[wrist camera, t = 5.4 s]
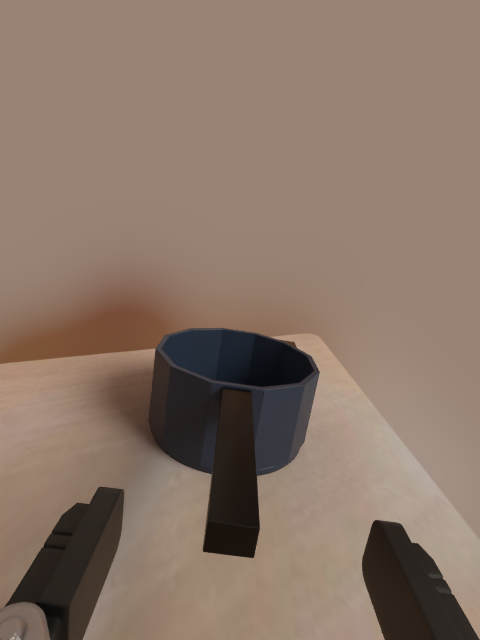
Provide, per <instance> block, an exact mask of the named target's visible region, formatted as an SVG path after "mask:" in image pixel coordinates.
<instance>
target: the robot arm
mask: <svg viewBox="0 0 480 640" xmlns="http://www.w3.org/2000/svg"><path fill="white" fill-rule="evenodd" d="M123 504H124V490H123V489H116V488H108V487H99V488H98V489H97V491H96V493H95V495H94V496H93V498H92V500H91V502H90V504H83V503H76V504H75V505H74V506H73V507H72V508H70V509H69V510H68V511H67V512H65V513H64V514H63V515H62V516H61V518H60V520H59V521H58V523H57V524H56V526H55V528H54V529H53V531H52V534H50V536H49V537H48V539H47V540H46V542H45V544H44V547H43V548H41V550H40V552H39V553H38V555H37V557H36V558H35V560H34V561H33V563H32V565H31V566H30V568H29V569H28V571H27V573H26V574H25V576H24V577H23V579H22V581H21V582H20V584H19V586H18V587H17V589H16V590H15V592H14V594H13V595H12V597H11V598H10V600H9V601H8V603H7V604H6V605H5V607H4V608H2V609H0V640H82V639H83V637H84V634H85V632H86V629H87V627H88V624H89V621H90V619H91V616H92V614H93V611H94V608H95V606H96V603H97V601H98V598H99V595H100V593H101V590H102V588H103V585H104V582H105V580H106V577H107V575H108V572H109V569H110V567H111V564H112V562H113V559H114V556H115V554H116V551H117V548H118V544H119V540H120V536H121V530H122V517H123ZM362 571H363V577H364V581H365V584H366V587H367V590H368V593H369V596H370V599H371V601H372V604H373V607H374V610H375V613H376V616H377V619H378V622H379V624H380V627H381V630H382V633H383V636H384V639H385V640H479V638H478V636H477V635H476V633H475V631H474V630H473V628H472V626H471V624H470V623H469V621H468V619H467V617H466V616H465V614H464V612H463V610H462V609H461V607H460V605H459V604H458V602H457V600H456V598H455V597H454V595H452V594H451V590H450V588H449V586H448V584H447V583H446V581H445V580H443V576H442V574H441V572H440V571H439V569H438V567H437V565H436V564H435V562H434V560H433V559H432V558H431V557H430V556H429V555H428V554H427V553H426V551H425V550H424V549H423V548H422V547H421V546H420V545H419V544H417V543H411V541H410V539H409V537H408V535H407V533H406V531H405V530H404V528H403V526H402V525H401V524H400V523H396V522H388V521H380V520H375V521H374V522H373V524H372V527H371V530H370V534H369V537H368V541H367V544H366V548H365V551H364V555H363V560H362Z"/></svg>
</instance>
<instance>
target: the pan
mask: <svg viewBox="0 0 480 640" xmlns="http://www.w3.org/2000/svg"><path fill="white" fill-rule="evenodd" d="M319 373H320V372H319V370H318V368H317V366H316V364H315V362H314V360H313V358H312V357H311V356H310V355H308V354H306V353H305V352H303V351H301V350H299V349H298V348H296V347H294V346H292V345H291V344H289V343H287V342H283V341H280V340H277V339H274V338H271V337H267V336H264V335H261V334H258V333H252V332H245V331H238V330H232V329H225V328H196V329H195V328H192V329H191V328H190V329H186V330H182V331H179V332H175V333H171V334H168V335H165V336H164V337H163V339H162V340H161V342H160V343H159V344H158V346H157V347H156V351H155V361H154V371H153V382H152V392H151V402H150V413H149V423H150V424H151V430H152V434H153V436H154V439H155V440H156V442H157V443H158V445H159V446H160V447H161V448H162V449H163V450H164V451H165V452H166V453H167V454H169V455H170V456H171V457H173V458H174V459H176V460H177V461H179V462H181V463H183V464H185V465H187V466H189V467H192V468H195V469H197V470H200V471H204V472H207V473H211V474H212V478H211V486H210V494H209V503H208V511H207V519H206V528H205V536H204V544H203V552H208V553H216V554H224V555H232V556H240V557H248V558H254V555H255V550H256V545H257V540H258V535H259V530H260V523H259V506H258V489H257V476H258V475H263V474H268V473H271V472H274V471H277V470H279V469H281V468H283V467H285V466H286V465H288V464H289V463H290V462H291V461H292V460H293V459H294V458H295V457H296V455H297V454H298V452H299V449H300V447H301V446H302V444H303V443H304V440H305V436H306V431H307V427H308V422H309V418H310V413H311V409H312V404H313V400H314V395H315V391H316V386H317V382H318V377H319Z"/></svg>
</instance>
